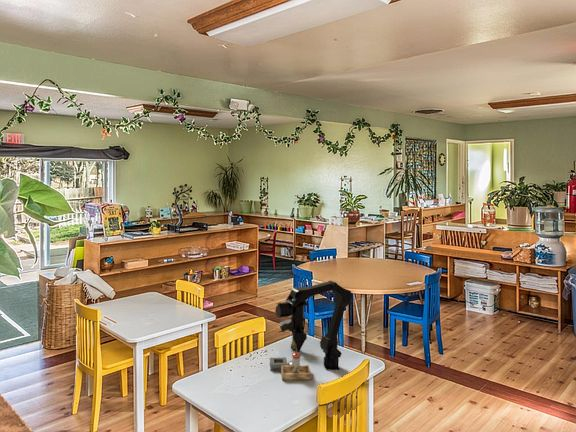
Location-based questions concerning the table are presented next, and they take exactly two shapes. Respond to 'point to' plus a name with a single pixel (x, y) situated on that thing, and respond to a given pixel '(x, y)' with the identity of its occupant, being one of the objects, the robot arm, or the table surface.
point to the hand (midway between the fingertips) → (297, 347)
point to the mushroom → (293, 344)
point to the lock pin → (295, 362)
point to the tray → (302, 375)
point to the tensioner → (278, 363)
